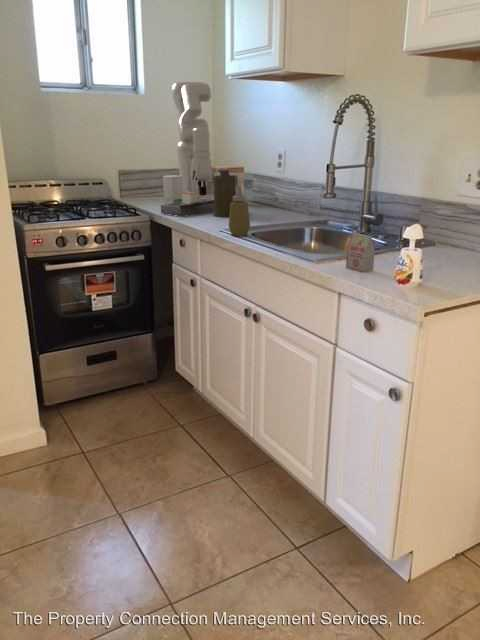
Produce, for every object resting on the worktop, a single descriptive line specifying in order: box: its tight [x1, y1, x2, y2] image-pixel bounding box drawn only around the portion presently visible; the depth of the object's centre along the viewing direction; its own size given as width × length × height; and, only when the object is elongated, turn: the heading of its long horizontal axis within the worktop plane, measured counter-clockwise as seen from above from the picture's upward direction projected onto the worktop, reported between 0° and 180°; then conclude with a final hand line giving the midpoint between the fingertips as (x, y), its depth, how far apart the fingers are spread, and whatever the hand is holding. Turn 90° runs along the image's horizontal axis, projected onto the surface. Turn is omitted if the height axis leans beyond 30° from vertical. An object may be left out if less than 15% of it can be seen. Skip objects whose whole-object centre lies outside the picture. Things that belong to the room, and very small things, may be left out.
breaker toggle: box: [182, 191, 197, 203], centre depth 258 cm, size 4×6×5 cm
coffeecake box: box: [213, 165, 245, 196], centre depth 280 cm, size 15×7×20 cm, turn 92°
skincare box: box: [162, 175, 183, 205], centre depth 274 cm, size 8×7×16 cm
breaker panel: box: [160, 199, 214, 217], centre depth 260 cm, size 24×14×5 cm, turn 137°
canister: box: [212, 170, 238, 218], centre depth 247 cm, size 11×10×20 cm
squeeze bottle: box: [228, 186, 251, 237], centre depth 201 cm, size 8×8×18 cm
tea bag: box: [345, 232, 376, 274], centre depth 153 cm, size 4×7×10 cm, turn 36°
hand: (202, 194), depth 263 cm, fingers closed
